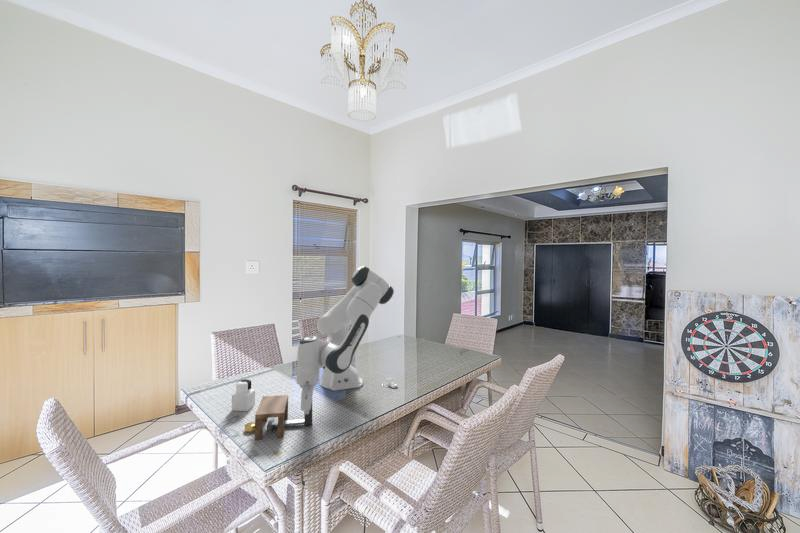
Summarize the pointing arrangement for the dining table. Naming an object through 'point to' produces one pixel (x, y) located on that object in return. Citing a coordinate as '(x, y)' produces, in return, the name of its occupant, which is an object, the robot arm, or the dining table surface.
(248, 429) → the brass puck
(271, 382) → the dining table surface
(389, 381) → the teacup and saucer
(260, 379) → the dining table surface
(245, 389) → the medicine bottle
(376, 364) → the dining table surface
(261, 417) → the wooden arch block
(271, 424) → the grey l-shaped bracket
